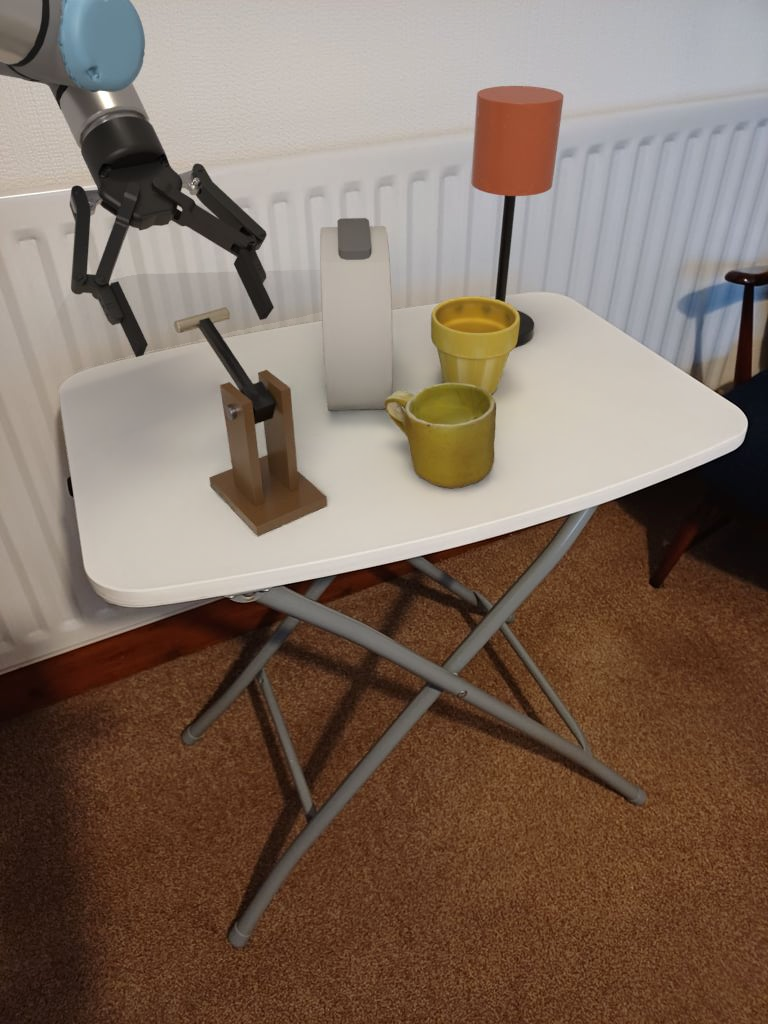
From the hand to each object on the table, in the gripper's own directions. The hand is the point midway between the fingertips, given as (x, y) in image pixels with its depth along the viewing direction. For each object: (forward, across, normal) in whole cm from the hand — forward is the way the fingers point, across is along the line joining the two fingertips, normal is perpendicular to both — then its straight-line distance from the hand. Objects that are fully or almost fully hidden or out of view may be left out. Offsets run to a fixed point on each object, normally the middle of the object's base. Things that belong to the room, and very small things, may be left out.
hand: (207, 332), depth 77 cm
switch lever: (+5, 0, +1) cm, 5 cm away
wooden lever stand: (+17, 0, -4) cm, 17 cm away
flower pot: (+14, -31, -7) cm, 35 cm away
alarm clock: (+7, -21, -14) cm, 26 cm away
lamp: (+7, -45, -13) cm, 47 cm away
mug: (+21, -18, 0) cm, 28 cm away
